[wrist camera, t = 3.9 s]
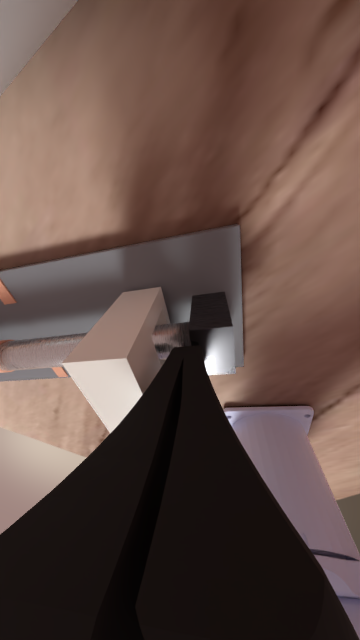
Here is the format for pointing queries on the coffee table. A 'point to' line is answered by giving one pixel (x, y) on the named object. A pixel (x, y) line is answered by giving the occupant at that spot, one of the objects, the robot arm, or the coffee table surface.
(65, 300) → the rod board
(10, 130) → the coffee table surface
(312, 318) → the coffee table surface
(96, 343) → the collar
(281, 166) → the coffee table surface
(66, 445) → the coffee table surface
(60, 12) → the tube
